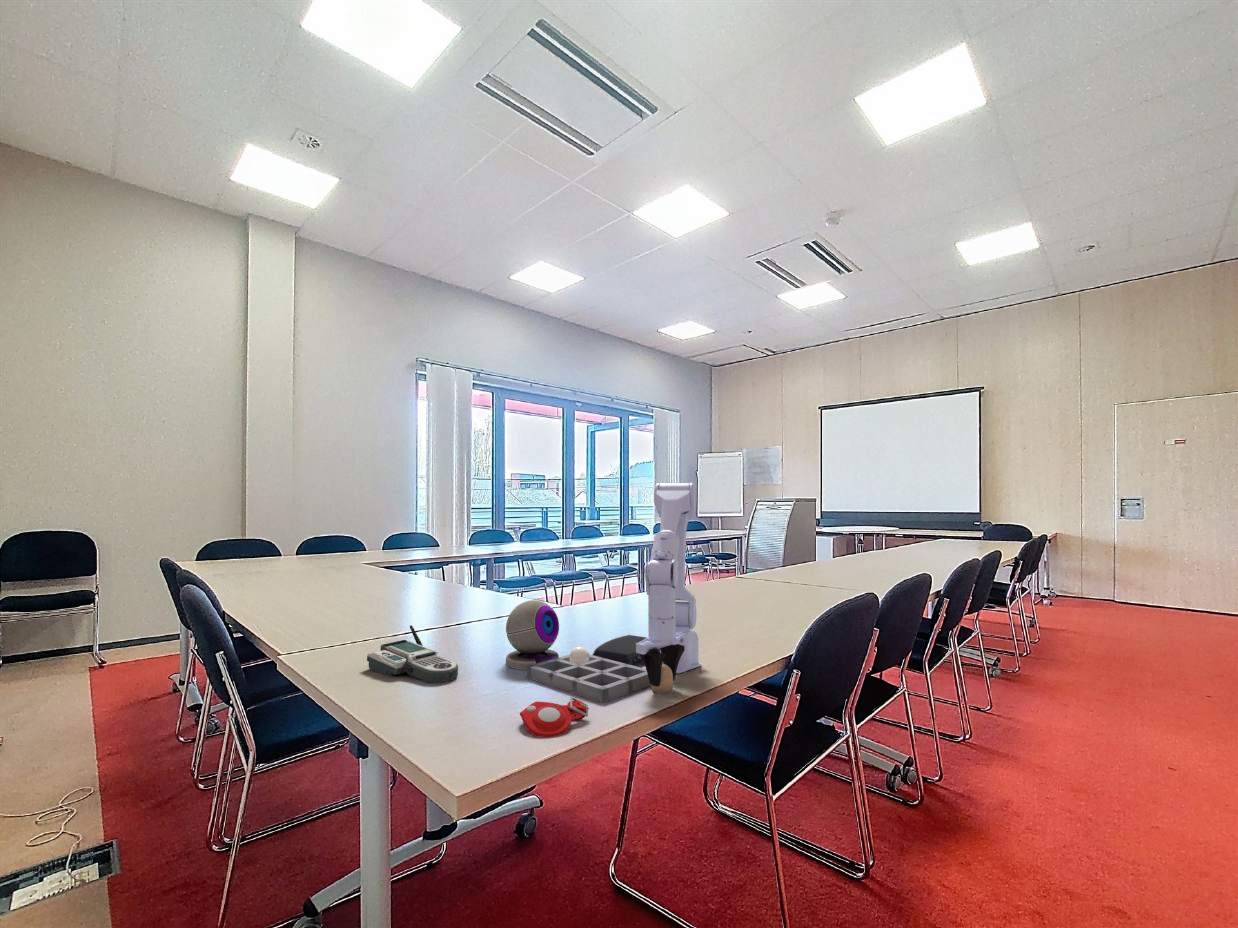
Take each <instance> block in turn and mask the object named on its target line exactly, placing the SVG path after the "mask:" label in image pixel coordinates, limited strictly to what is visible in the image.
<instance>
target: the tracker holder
mask: <svg viewBox="0 0 1238 928" xmlns="http://www.w3.org/2000/svg"><path fill="white" fill-rule="evenodd" d="M589 709H590V708H589V705H588V704H587V703H585V702H583V701H582V700H580V699H577V698H576V697H574V696H572V695H571V696H570V698H569V701H568V702H567V704H562V705H561V704H559V703H555V702H549V701H534V702H532V703H530V704H529V705H528V706H527V707H525V708H524V709H523V710H521V711H520V712H519V716H520V718H521V720H522V722H523V725H524V727H525V729H526V730H527V732H528V733H529V734H530V735H532V736H534V737H536V738H552V737H557V736H558V737H559V736H562V735H564V734H566V733H567V731H568V730H569V729H570V726H571V723H572V722H579V721H581V720H582V719H584V718H585V717H586V718H587V717H589Z"/></svg>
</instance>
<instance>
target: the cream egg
mask: <svg viewBox="0 0 1238 928" xmlns="http://www.w3.org/2000/svg"><path fill="white" fill-rule="evenodd" d="M588 654H589V651H588V650H587V649H586V648H585V647H583V646H576V647H574V648H573V649H572V650H571V651H570V654H569V655H570V662H573V663H576V664H581V663H584V662H588V661H589V655H588Z"/></svg>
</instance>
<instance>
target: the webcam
mask: <svg viewBox="0 0 1238 928" xmlns="http://www.w3.org/2000/svg"><path fill="white" fill-rule="evenodd" d="M505 633H506V637H507V640H508V642H509V644H510V646H512V647H513V649H514V651H511V652H510V653H507V655H506V657H505V665H506V666H508V667H509V668H511V669H512V668H513V669H515V670H516V669H517V670H526V671H527V666H529V665H533V664H537V663H540V662H544V661H548V660H552V659H555V658H559V657H560V655H559V653H558V652H557V651H555V650H553V649H550V648H552V646H553V645H554V643H555V642H556V640H557V638H558V636H559V633H560V621H559V617H558V615H557V612H556V611H555V610H554V609H553V608H552V607H551V606H550V605H549V604H548V603H546V602H543V601H541V600H535V599H533V600H526V601H524V602H521V603H519V604H518V605H516V607H514V608H513V610H512V611H511V612H510V614H509V615H508V617H507V620H506V624H505Z"/></svg>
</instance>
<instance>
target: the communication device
mask: <svg viewBox="0 0 1238 928" xmlns="http://www.w3.org/2000/svg"><path fill="white" fill-rule="evenodd" d="M409 629H410V631H411V634H412V636H413V639H414V641H415V642H414V641H413V642H412V641H408V640H406V639H402V640H397V641H396V640H395V641H392V642H387V643H383V644H381V645H380V648H379V650H378V651H373V652H370V653H367V654H366V656H367V657H366V661H367V662H368V668H369V670H371V671H373V672H375V673H378V674H381V675H383V676H389V677H391V676H394V675H395V676H396V675H400V674H404V673H406V674H407V675H408V676H411V677H412V678H414V679H415V678H416V679H418V680H419V681H422V682H424V681H425V683H429V684H444V683H448V682H447V681H449V682H451V680H452V681H453V679H454V680H455V679H456V678H457V677H458V674H459V664H457V663H456V662H454V661H453V660H450V659H448V658H445V657H441V656H439V655H438V654H439V651H438V650H434V649H431V648H429V647H425V646H424V645H423V643H422V641H421V639H420V637H419V636H418V634H417V632H416V630H415V628H414V626H413V625H409Z"/></svg>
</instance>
